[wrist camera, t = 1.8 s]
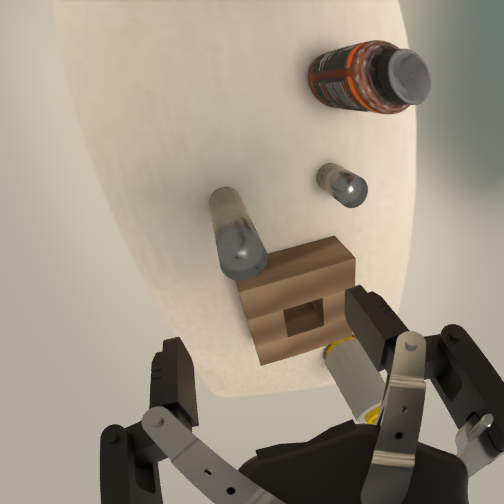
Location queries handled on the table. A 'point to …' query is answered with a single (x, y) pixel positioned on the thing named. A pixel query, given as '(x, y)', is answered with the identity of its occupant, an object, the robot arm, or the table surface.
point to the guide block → (299, 299)
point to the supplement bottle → (370, 78)
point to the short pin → (342, 185)
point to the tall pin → (236, 237)
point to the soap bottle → (356, 378)
